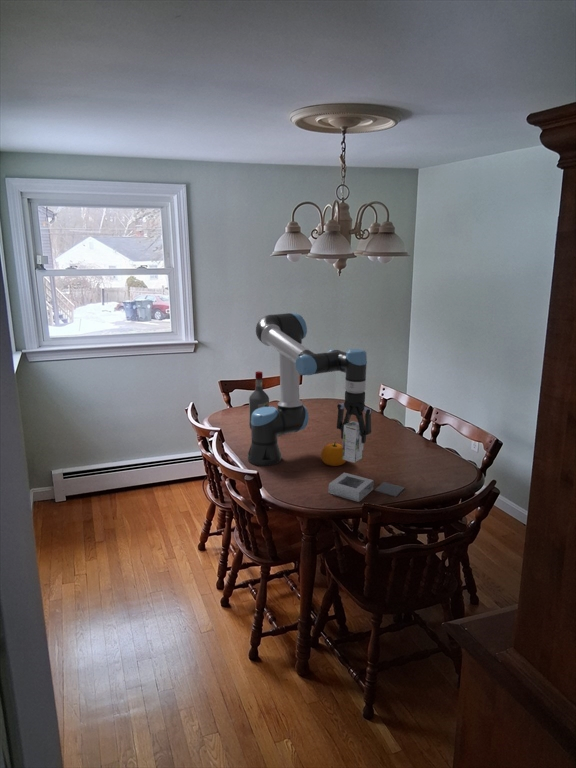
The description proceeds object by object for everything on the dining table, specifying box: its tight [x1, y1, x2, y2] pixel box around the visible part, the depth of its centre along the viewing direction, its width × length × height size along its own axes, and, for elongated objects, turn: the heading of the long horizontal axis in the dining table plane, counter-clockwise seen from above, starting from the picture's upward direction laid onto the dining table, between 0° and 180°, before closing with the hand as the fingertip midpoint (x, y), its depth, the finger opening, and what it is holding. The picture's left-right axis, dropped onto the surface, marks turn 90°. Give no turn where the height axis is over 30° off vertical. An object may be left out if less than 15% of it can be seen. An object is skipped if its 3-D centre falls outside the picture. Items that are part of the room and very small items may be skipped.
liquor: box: [248, 370, 270, 429], centre depth 277 cm, size 9×9×30 cm
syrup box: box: [342, 420, 364, 464], centre depth 202 cm, size 6×6×14 cm
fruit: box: [320, 441, 346, 467], centre depth 233 cm, size 12×12×10 cm
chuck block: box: [328, 472, 375, 503], centre depth 207 cm, size 13×13×4 cm
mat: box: [373, 481, 405, 498], centre depth 209 cm, size 9×9×1 cm
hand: (352, 448), depth 203 cm, fingers closed on syrup box, 6 cm apart
